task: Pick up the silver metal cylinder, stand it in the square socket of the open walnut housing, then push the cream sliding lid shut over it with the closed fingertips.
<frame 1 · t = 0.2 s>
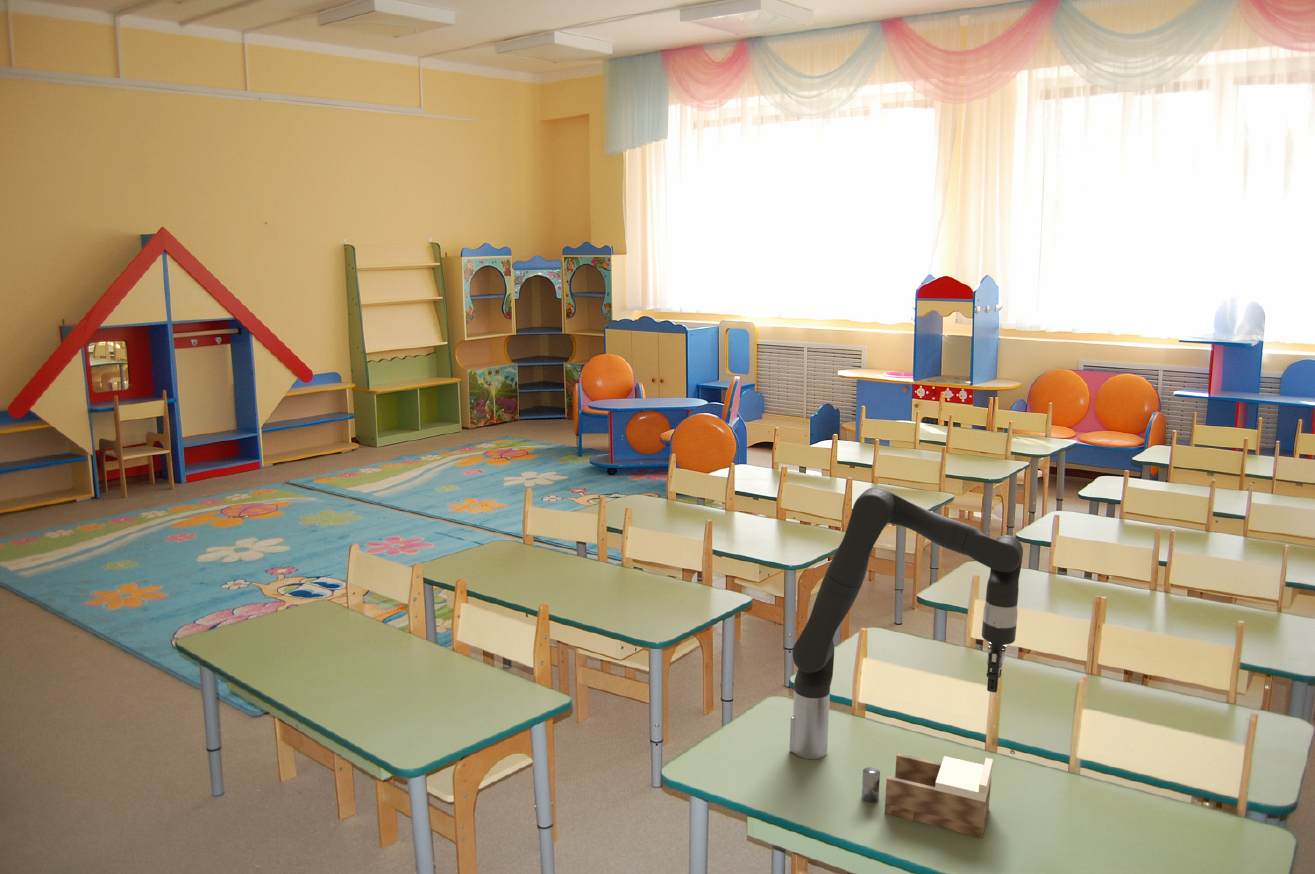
hand: (994, 683, 228), 29 cm above the table, fingers open, 8 cm apart
silver metal cylinder: (870, 797, 231), on the table
housing: (936, 810, 226), on the table
lid: (964, 774, 222), point 11 cm above the table, slide at 11.0 cm
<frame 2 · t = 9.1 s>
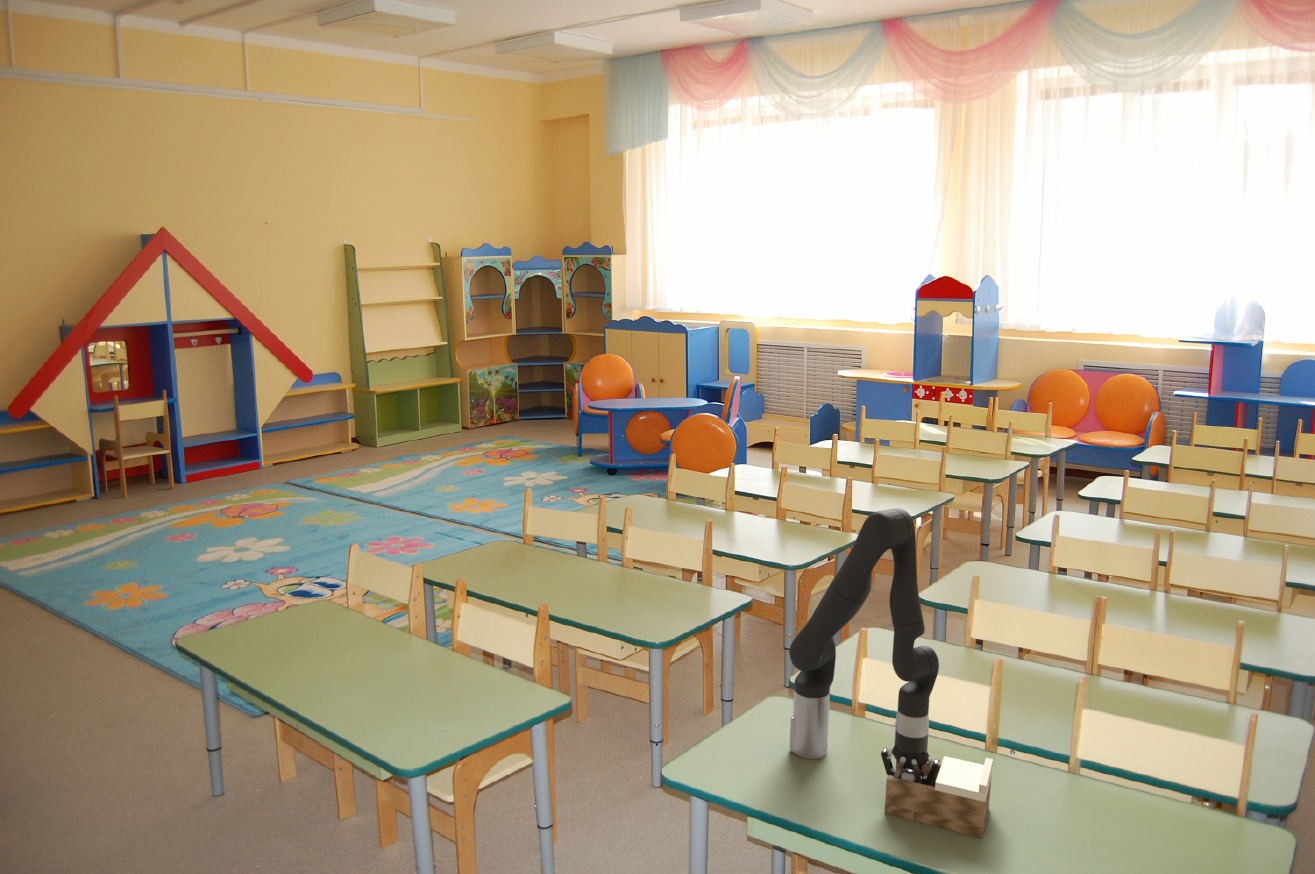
hand: (907, 793, 229), 3 cm above the table, fingers closed on silver metal cylinder, 4 cm apart
silver metal cylinder: (907, 797, 229), point 2 cm above the table, touching gripper
everything else where it was.
when the fingers open (3 cm above the table, at t = 9.9 s): silver metal cylinder drops 2 cm, resting in housing.
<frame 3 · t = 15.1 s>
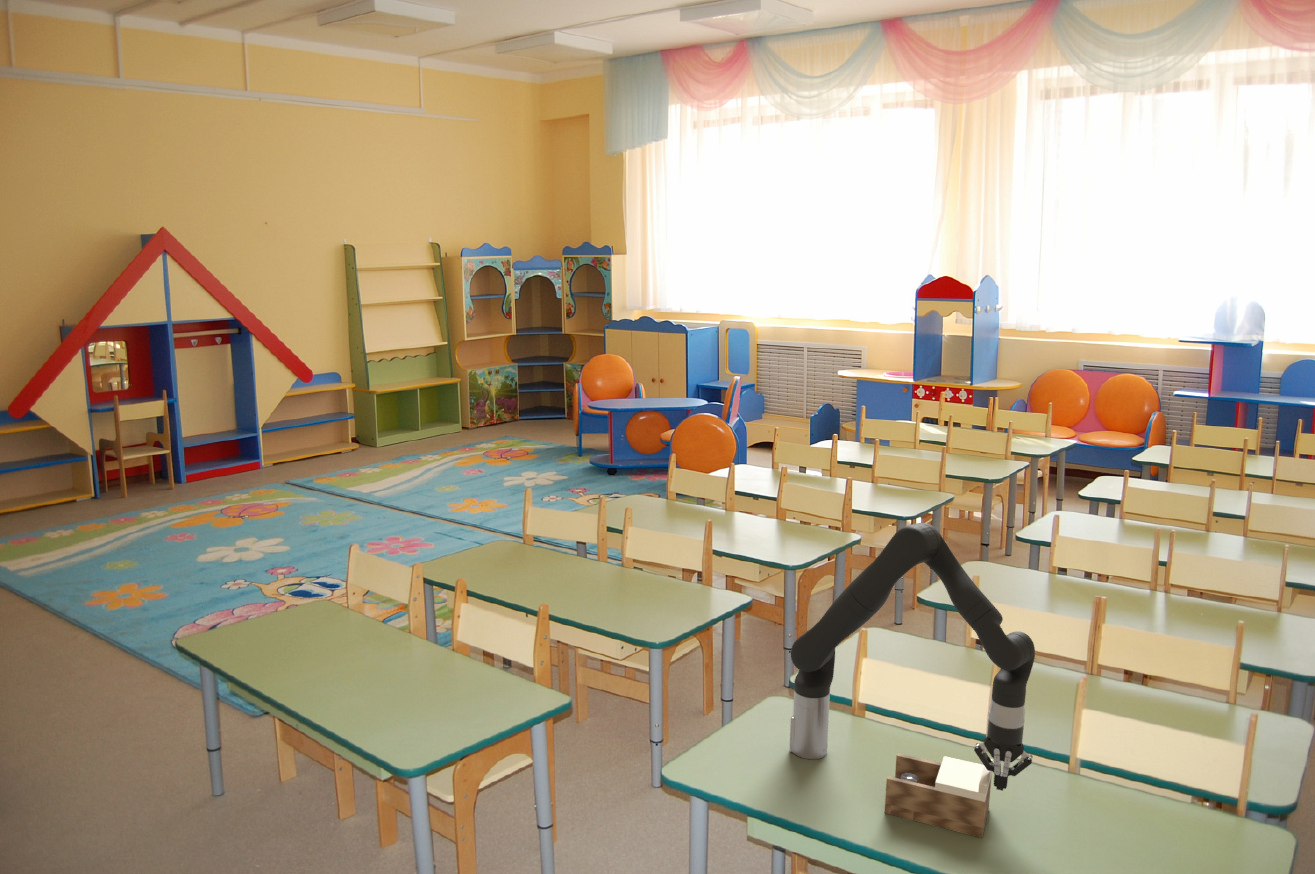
hand: (999, 788, 219), 10 cm above the table, fingers closed
silver metal cylinder: (907, 803, 229), resting in housing
lid: (964, 774, 222), point 11 cm above the table, slide at 11.0 cm, touching gripper
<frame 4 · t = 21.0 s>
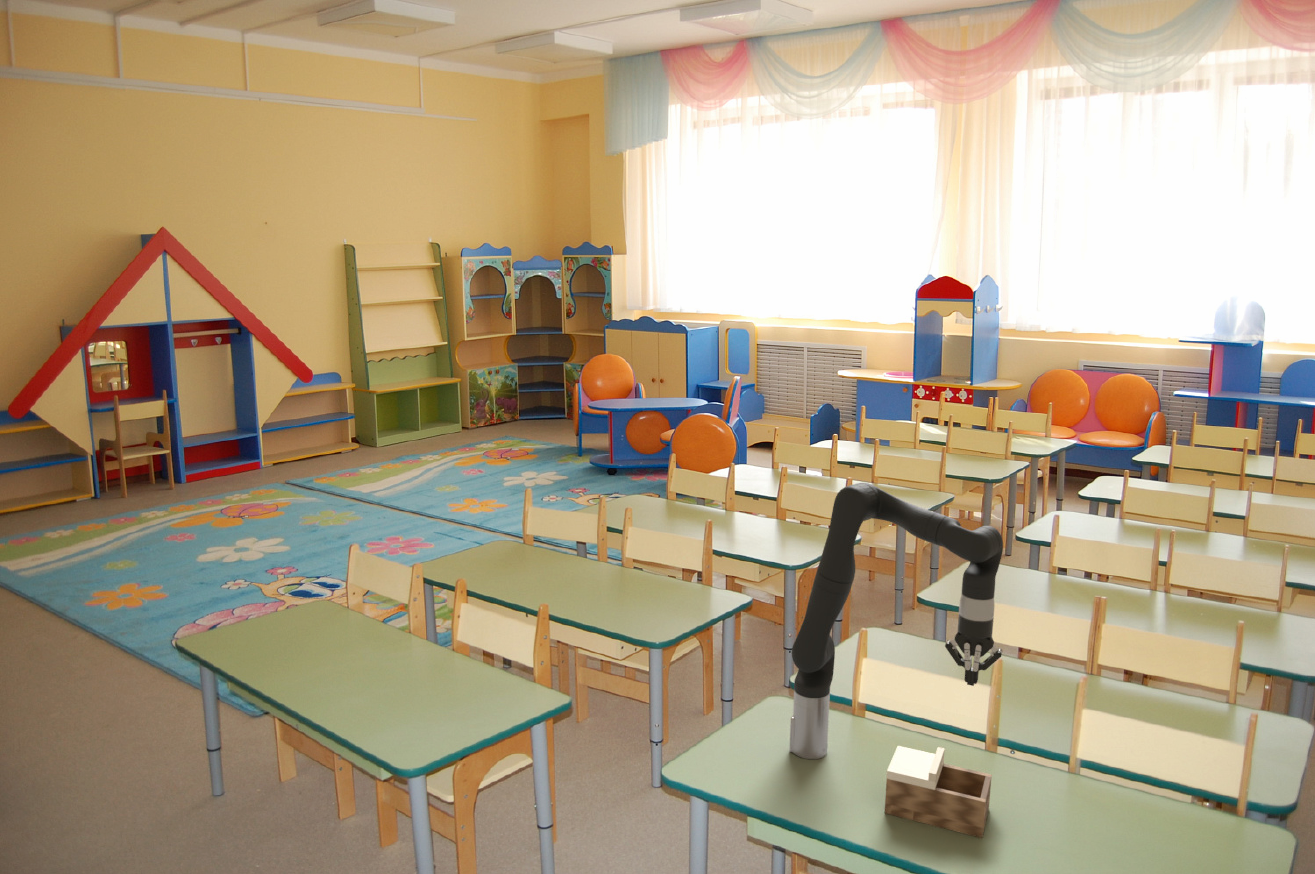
hand: (970, 683, 221), 32 cm above the table, fingers closed
lid: (915, 763, 226), point 11 cm above the table, slide at 0.0 cm
everything else where it was.
at the end: silver metal cylinder 0.2 cm from the target spot on the housing, point 0.0 cm above the housing's base; silver metal cylinder tilted 0°; lid slide at 0.0 cm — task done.
